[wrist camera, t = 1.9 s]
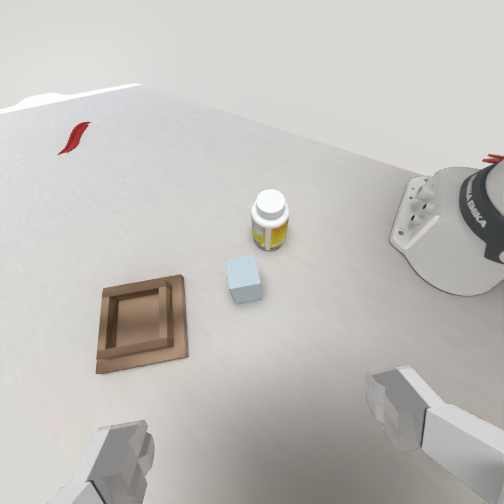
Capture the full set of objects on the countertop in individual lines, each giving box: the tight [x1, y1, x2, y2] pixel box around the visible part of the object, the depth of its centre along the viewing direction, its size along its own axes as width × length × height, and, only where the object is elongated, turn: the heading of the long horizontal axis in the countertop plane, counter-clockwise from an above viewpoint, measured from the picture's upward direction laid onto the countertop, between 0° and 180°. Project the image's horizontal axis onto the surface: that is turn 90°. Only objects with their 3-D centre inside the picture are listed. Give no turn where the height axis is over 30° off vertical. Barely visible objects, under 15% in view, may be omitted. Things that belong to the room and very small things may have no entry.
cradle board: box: [96, 274, 188, 374], centre depth 34 cm, size 12×12×4 cm
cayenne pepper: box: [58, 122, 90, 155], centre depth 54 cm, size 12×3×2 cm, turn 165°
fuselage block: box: [225, 255, 261, 304], centre depth 34 cm, size 4×4×8 cm
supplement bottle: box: [251, 189, 289, 250], centre depth 37 cm, size 6×6×10 cm
